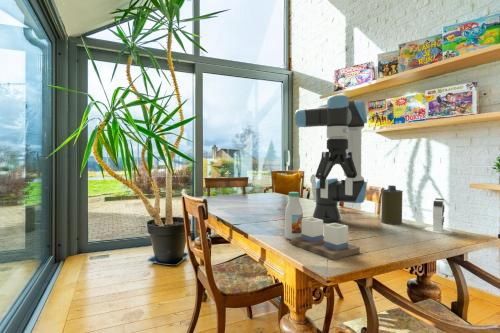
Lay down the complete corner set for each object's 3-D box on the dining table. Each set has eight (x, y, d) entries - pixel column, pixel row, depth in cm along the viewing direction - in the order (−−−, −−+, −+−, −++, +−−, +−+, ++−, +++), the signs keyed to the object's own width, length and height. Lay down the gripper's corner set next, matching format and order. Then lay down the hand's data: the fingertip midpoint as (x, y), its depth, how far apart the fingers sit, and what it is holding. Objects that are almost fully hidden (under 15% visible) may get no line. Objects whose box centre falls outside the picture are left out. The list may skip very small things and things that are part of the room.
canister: (405, 225, 147) (405, 186, 146) (383, 224, 149) (384, 186, 148) (398, 220, 158) (399, 184, 157) (378, 219, 160) (379, 184, 159)
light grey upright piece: (452, 235, 128) (452, 202, 127) (422, 231, 135) (423, 200, 134) (452, 229, 137) (453, 199, 137) (425, 226, 144) (425, 197, 144)
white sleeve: (337, 250, 101) (337, 228, 100) (324, 246, 106) (324, 224, 105) (347, 247, 104) (348, 225, 104) (334, 243, 109) (334, 222, 109)
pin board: (290, 243, 115) (290, 226, 115) (315, 238, 123) (315, 222, 123) (333, 260, 97) (334, 239, 97) (359, 252, 104) (359, 233, 104)
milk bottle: (284, 239, 121) (284, 193, 120) (285, 235, 128) (285, 191, 128) (303, 240, 120) (303, 193, 119) (302, 235, 127) (302, 191, 127)
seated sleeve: (301, 238, 116) (301, 219, 115) (312, 236, 119) (312, 217, 119) (312, 242, 111) (312, 221, 110) (322, 239, 114) (323, 220, 114)
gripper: (321, 136, 94) (320, 200, 95) (367, 139, 108) (366, 194, 108) (305, 138, 100) (305, 197, 101) (350, 140, 114) (350, 192, 115)
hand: (336, 196), depth 105 cm, fingers open, 13 cm apart
